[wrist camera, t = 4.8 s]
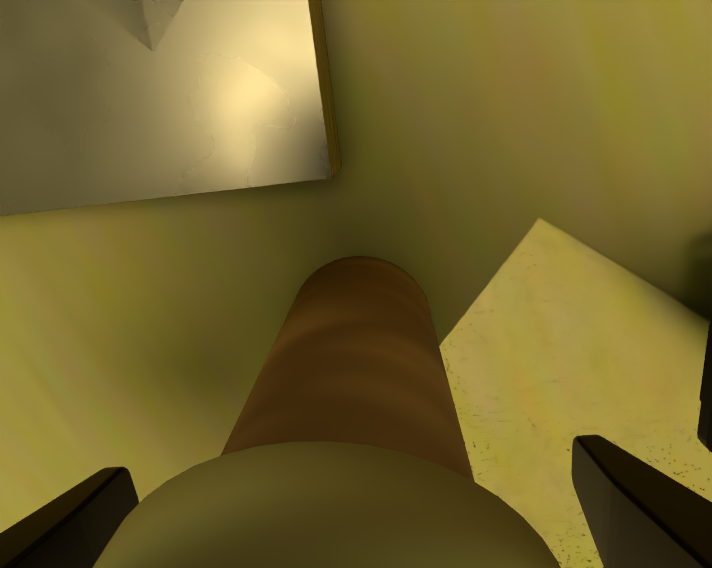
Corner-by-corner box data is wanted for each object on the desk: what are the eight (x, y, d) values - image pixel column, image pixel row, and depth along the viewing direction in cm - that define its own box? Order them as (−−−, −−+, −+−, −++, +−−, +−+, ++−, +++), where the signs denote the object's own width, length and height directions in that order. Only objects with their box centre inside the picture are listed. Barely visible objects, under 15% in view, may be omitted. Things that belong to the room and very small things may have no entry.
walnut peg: (448, 222, 14) (670, 546, 3) (458, 395, 16) (620, 959, 5) (254, 243, 15) (-100, 584, 4) (285, 408, 17) (107, 949, 6)
